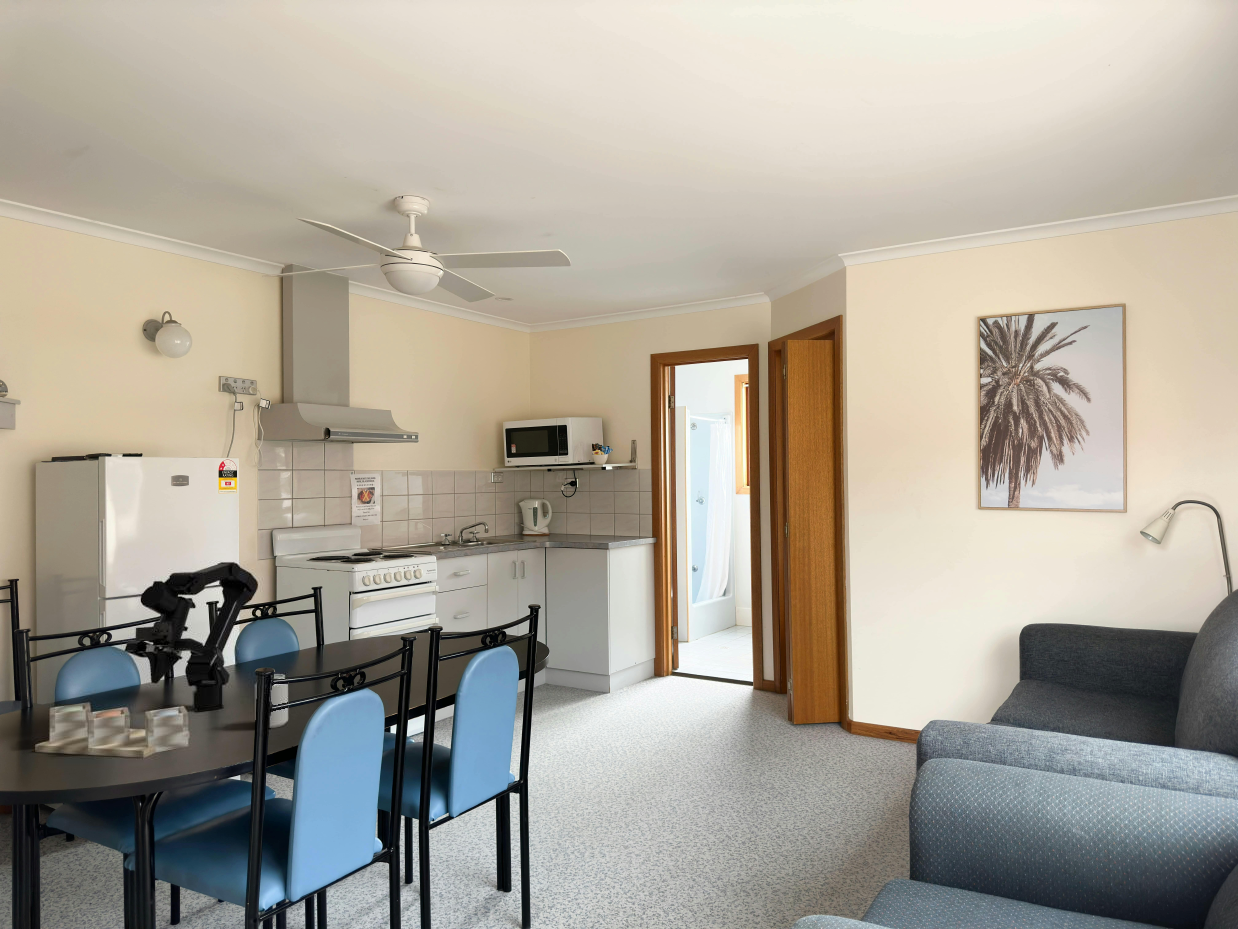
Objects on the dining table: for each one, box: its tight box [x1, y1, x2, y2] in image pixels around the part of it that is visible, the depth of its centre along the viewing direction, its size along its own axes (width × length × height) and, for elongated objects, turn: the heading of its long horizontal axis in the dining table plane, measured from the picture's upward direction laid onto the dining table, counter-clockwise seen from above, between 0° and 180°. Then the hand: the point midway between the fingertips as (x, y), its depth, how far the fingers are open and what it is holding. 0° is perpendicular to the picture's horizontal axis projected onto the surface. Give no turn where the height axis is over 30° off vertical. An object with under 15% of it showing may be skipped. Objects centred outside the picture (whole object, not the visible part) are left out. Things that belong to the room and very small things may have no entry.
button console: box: [34, 702, 191, 759], centre depth 187 cm, size 14×37×8 cm, turn 79°
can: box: [254, 673, 289, 729], centre depth 200 cm, size 8×8×12 cm
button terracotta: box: [96, 711, 121, 718], centre depth 185 cm, size 5×5×3 cm
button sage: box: [58, 706, 83, 713], centre depth 190 cm, size 5×5×3 cm
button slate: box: [154, 710, 179, 717], centre depth 185 cm, size 5×5×3 cm
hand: (154, 683), depth 197 cm, fingers closed
